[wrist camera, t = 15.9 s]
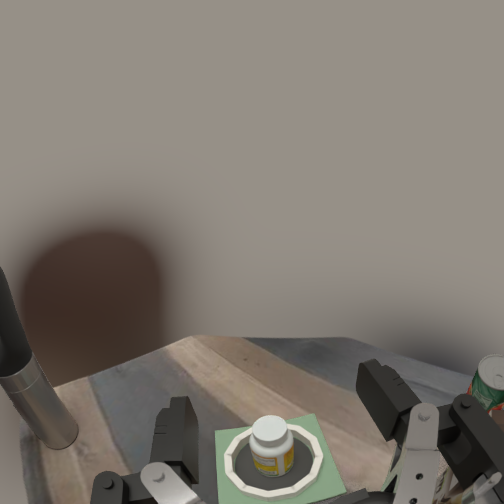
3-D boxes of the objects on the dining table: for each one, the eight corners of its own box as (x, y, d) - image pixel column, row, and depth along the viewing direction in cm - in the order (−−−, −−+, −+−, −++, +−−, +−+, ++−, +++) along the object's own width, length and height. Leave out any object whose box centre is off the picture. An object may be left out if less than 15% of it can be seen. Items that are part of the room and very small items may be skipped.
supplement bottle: (263, 483, 25) (254, 451, 23) (249, 456, 30) (239, 419, 27) (300, 469, 27) (301, 434, 24) (284, 443, 32) (281, 405, 29)
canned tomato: (459, 399, 30) (480, 350, 27) (494, 406, 24) (519, 357, 21) (448, 432, 25) (475, 384, 22) (487, 440, 19) (519, 392, 16)
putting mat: (220, 516, 20) (216, 512, 20) (215, 432, 36) (212, 423, 35) (345, 493, 22) (348, 486, 21) (314, 415, 37) (314, 406, 36)
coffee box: (421, 516, 14) (483, 459, 9) (436, 478, 18) (489, 406, 14) (476, 519, 8) (553, 456, 4) (487, 482, 13) (551, 408, 8)
